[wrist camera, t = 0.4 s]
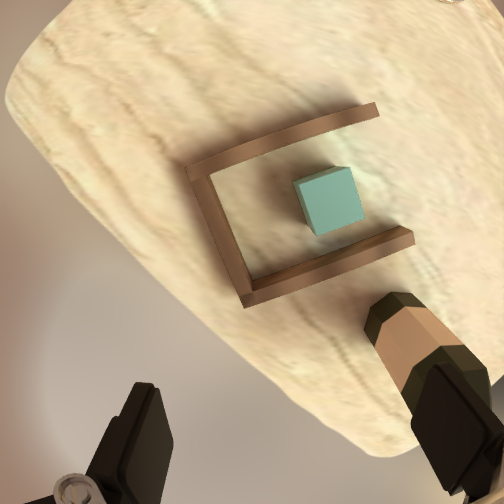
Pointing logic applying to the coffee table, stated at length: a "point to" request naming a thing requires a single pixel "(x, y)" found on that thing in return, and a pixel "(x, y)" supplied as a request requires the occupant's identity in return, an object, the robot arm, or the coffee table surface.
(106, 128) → the coffee table surface
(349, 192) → the teal block
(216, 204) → the frame
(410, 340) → the wine bottle
